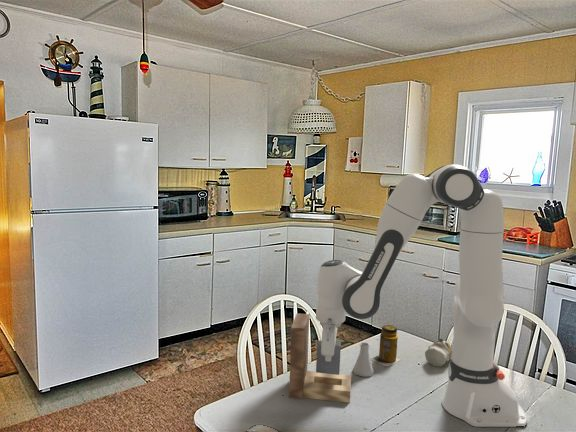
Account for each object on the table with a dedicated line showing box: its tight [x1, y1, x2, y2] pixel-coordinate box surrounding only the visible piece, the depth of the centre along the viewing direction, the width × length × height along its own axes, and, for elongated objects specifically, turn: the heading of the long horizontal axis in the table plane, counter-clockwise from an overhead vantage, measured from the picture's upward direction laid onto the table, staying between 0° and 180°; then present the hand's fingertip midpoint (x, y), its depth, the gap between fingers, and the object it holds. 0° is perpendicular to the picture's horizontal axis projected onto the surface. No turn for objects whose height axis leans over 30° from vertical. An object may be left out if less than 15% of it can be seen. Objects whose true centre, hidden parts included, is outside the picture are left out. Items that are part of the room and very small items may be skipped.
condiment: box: [370, 324, 401, 367], centre depth 163 cm, size 7×8×12 cm
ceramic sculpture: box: [424, 338, 452, 368], centre depth 164 cm, size 11×9×15 cm
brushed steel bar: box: [315, 339, 342, 375], centre depth 140 cm, size 7×3×9 cm, turn 81°
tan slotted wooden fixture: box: [288, 312, 352, 404], centre depth 140 cm, size 18×12×22 cm, turn 81°
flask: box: [352, 341, 375, 378], centre depth 154 cm, size 7×7×10 cm
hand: (328, 357), depth 140 cm, fingers closed on brushed steel bar, 3 cm apart
